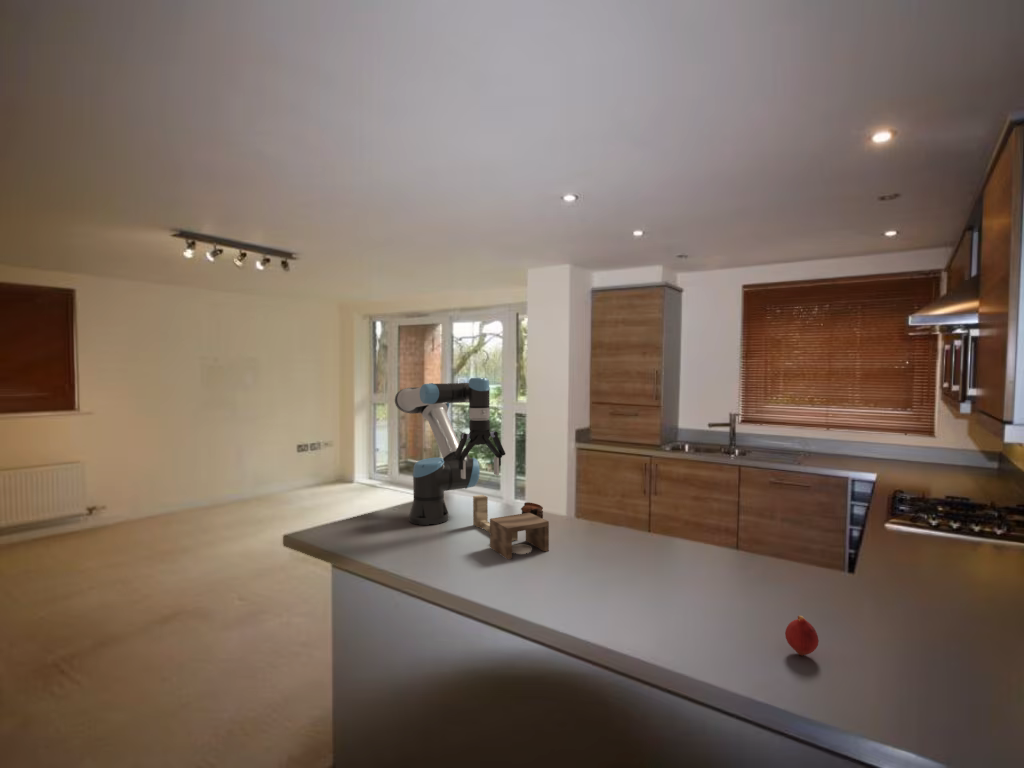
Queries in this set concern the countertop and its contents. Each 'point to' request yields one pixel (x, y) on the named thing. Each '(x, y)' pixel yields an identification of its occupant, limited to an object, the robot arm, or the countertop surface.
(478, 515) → the wooden mallet
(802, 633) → the onion
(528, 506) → the pottery mug
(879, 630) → the countertop surface
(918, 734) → the countertop surface
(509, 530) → the walnut bench
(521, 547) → the ceramic disc
